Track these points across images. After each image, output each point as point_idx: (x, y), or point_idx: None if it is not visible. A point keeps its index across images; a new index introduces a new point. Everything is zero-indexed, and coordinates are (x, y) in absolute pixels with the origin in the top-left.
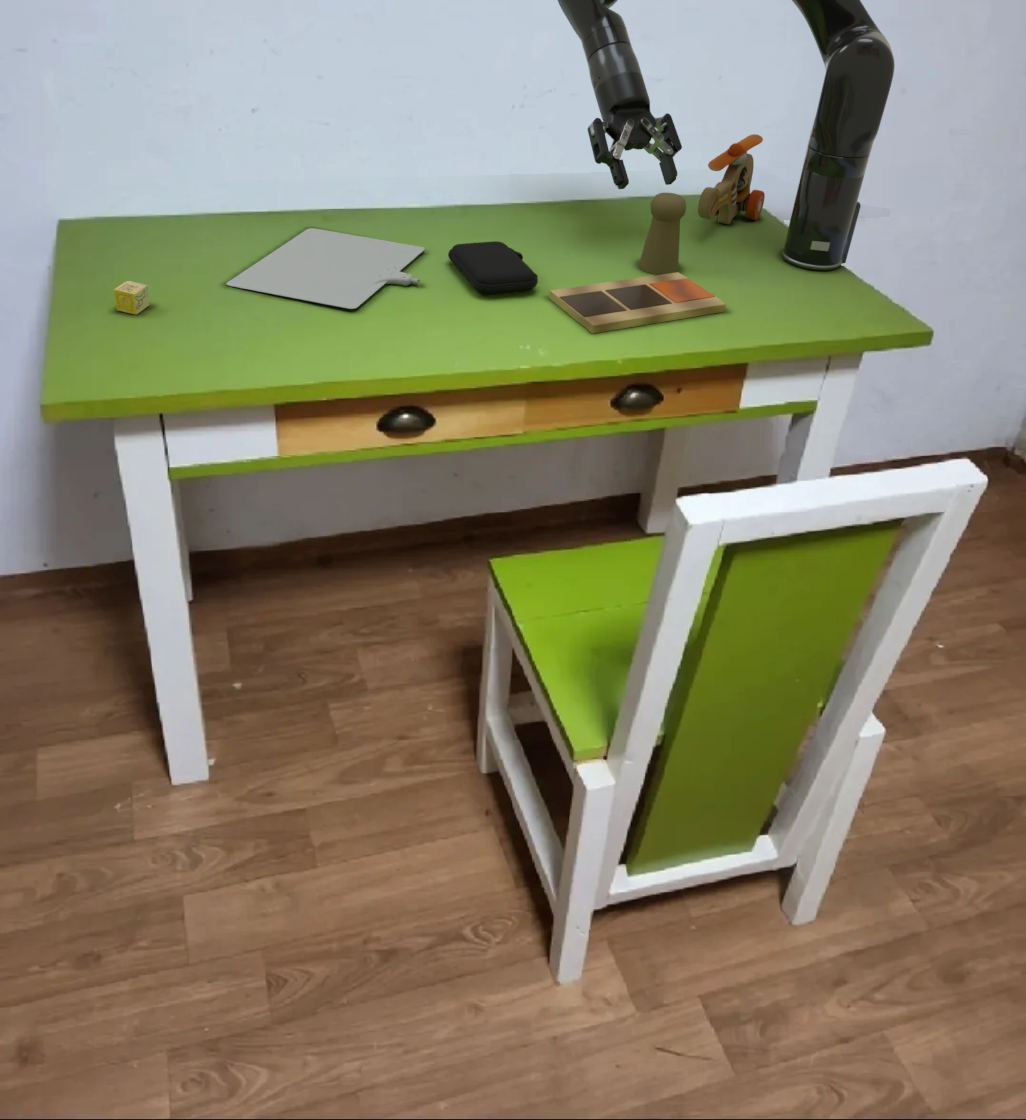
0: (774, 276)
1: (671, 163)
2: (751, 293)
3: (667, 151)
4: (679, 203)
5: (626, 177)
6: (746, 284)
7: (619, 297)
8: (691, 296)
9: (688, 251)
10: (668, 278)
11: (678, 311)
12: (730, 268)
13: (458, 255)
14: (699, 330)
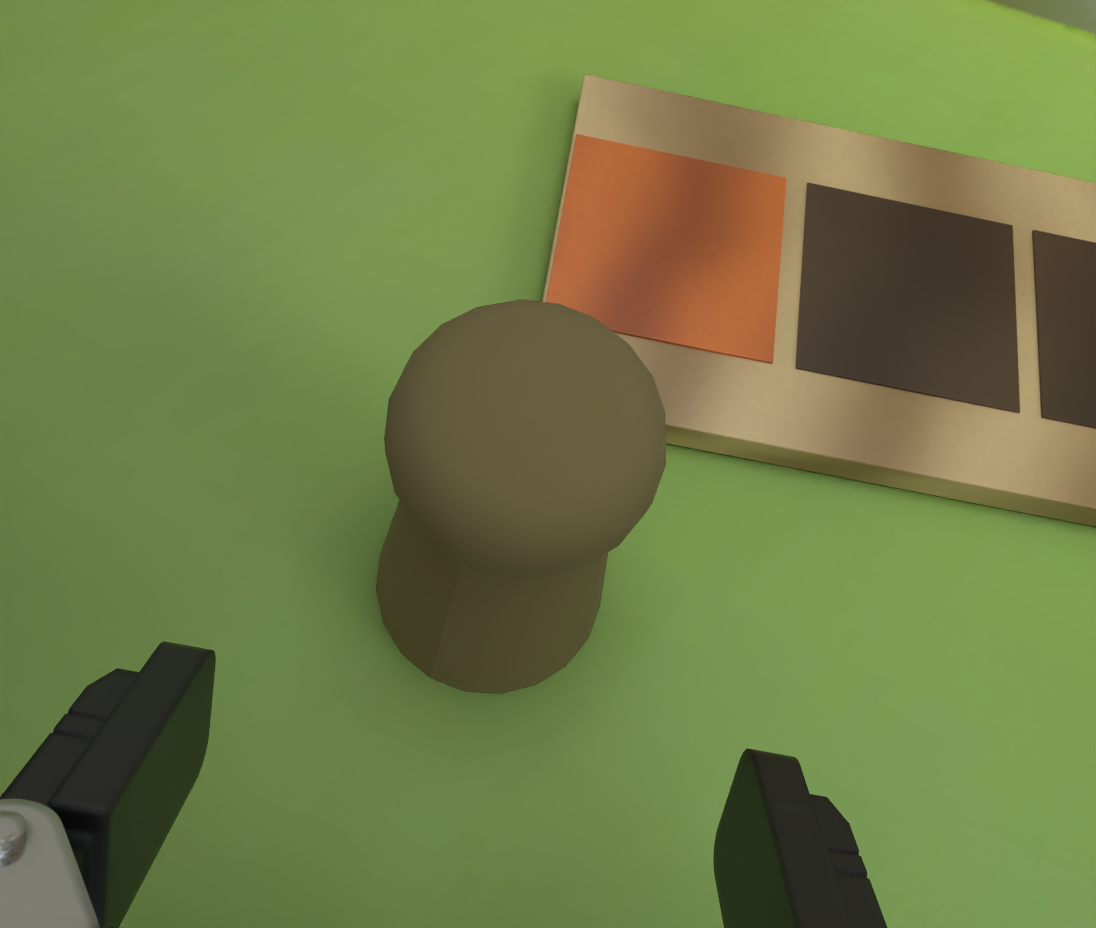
0: (13, 207)
1: (110, 735)
2: (309, 149)
3: (45, 844)
4: (536, 302)
5: (775, 775)
6: (239, 218)
7: (998, 325)
8: (681, 180)
9: None
10: None
11: (827, 127)
12: (126, 380)
13: None
14: (791, 59)
